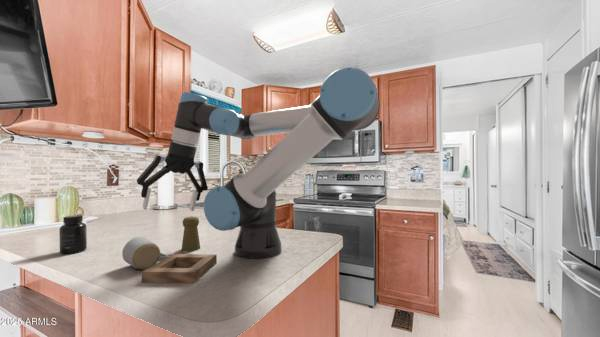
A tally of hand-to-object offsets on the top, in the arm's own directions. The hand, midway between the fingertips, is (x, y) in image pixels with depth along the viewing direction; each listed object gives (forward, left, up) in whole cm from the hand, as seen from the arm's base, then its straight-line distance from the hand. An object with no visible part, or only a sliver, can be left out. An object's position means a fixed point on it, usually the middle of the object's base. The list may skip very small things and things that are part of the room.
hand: (169, 208), depth 79 cm
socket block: (-11, +12, -15) cm, 22 cm away
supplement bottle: (+36, -4, -15) cm, 39 cm away
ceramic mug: (+2, +8, -15) cm, 17 cm away
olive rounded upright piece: (-3, -8, -15) cm, 17 cm away
